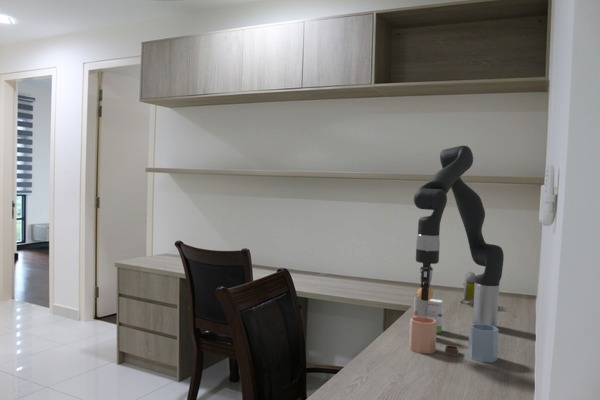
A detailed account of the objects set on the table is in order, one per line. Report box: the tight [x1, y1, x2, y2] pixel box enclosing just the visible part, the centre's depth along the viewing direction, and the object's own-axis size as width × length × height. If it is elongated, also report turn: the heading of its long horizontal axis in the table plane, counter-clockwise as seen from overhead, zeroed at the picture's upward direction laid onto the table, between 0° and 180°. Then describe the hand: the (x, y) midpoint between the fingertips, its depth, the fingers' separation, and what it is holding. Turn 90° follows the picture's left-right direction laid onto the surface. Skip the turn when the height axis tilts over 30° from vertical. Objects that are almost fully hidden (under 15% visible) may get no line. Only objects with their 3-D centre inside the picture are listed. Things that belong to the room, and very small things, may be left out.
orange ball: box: [417, 287, 434, 301], centre depth 165 cm, size 5×5×5 cm
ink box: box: [427, 298, 444, 334], centre depth 189 cm, size 9×5×12 cm, turn 67°
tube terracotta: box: [408, 316, 437, 354], centre depth 166 cm, size 8×8×10 cm
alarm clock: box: [460, 271, 477, 307], centre depth 236 cm, size 12×7×15 cm, turn 162°
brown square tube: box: [444, 344, 459, 357], centre depth 163 cm, size 4×4×2 cm
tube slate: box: [467, 323, 500, 364], centre depth 160 cm, size 8×8×10 cm
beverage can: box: [412, 293, 428, 317], centre depth 182 cm, size 5×5×15 cm
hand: (425, 298), depth 165 cm, fingers closed on orange ball, 5 cm apart
